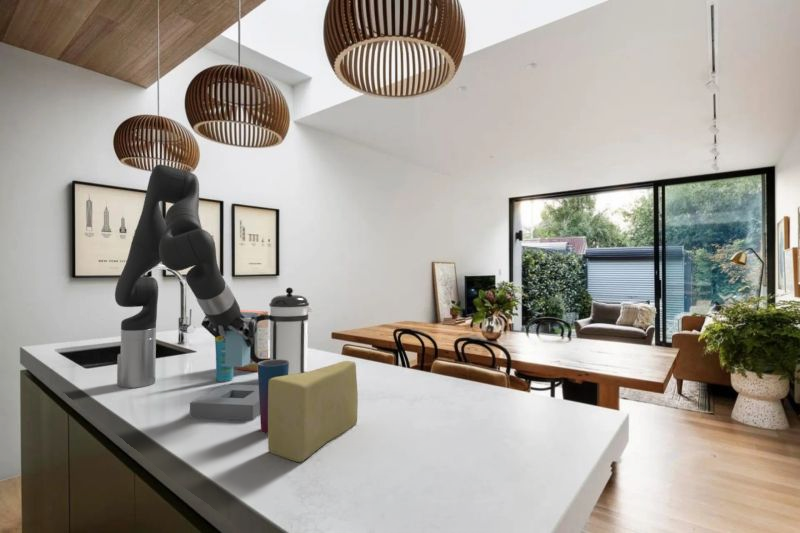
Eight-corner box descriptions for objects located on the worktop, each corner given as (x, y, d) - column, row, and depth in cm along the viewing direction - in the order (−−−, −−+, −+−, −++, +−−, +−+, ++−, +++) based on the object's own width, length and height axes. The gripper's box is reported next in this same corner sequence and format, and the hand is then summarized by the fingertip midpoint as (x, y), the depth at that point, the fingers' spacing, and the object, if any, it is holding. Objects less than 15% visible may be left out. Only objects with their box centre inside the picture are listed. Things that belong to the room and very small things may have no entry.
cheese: (339, 418, 100) (340, 356, 101) (371, 427, 95) (372, 362, 95) (265, 452, 82) (265, 376, 82) (300, 465, 77) (300, 383, 77)
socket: (189, 417, 101) (189, 400, 101) (224, 397, 117) (224, 382, 117) (252, 419, 99) (253, 403, 99) (279, 399, 115) (279, 384, 115)
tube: (215, 383, 130) (216, 322, 130) (210, 380, 134) (211, 320, 134) (239, 379, 135) (239, 320, 135) (233, 376, 139) (234, 319, 139)
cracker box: (268, 368, 150) (269, 311, 150) (256, 372, 145) (257, 312, 145) (240, 364, 156) (240, 309, 156) (227, 368, 150) (227, 310, 151)
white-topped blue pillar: (225, 366, 106) (225, 319, 106) (233, 362, 110) (234, 317, 110) (241, 367, 105) (242, 319, 105) (250, 363, 110) (250, 317, 110)
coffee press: (289, 369, 149) (290, 286, 149) (320, 376, 140) (321, 287, 140) (247, 379, 135) (248, 287, 135) (278, 388, 126) (279, 289, 126)
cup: (294, 425, 95) (294, 360, 96) (276, 437, 89) (277, 367, 89) (269, 422, 98) (270, 358, 98) (250, 432, 91) (250, 364, 91)
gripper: (251, 290, 100) (271, 333, 112) (195, 289, 101) (221, 331, 113) (241, 314, 95) (263, 356, 106) (182, 313, 96) (210, 355, 108)
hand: (241, 343), depth 110 cm, fingers closed on white-topped blue pillar, 4 cm apart
